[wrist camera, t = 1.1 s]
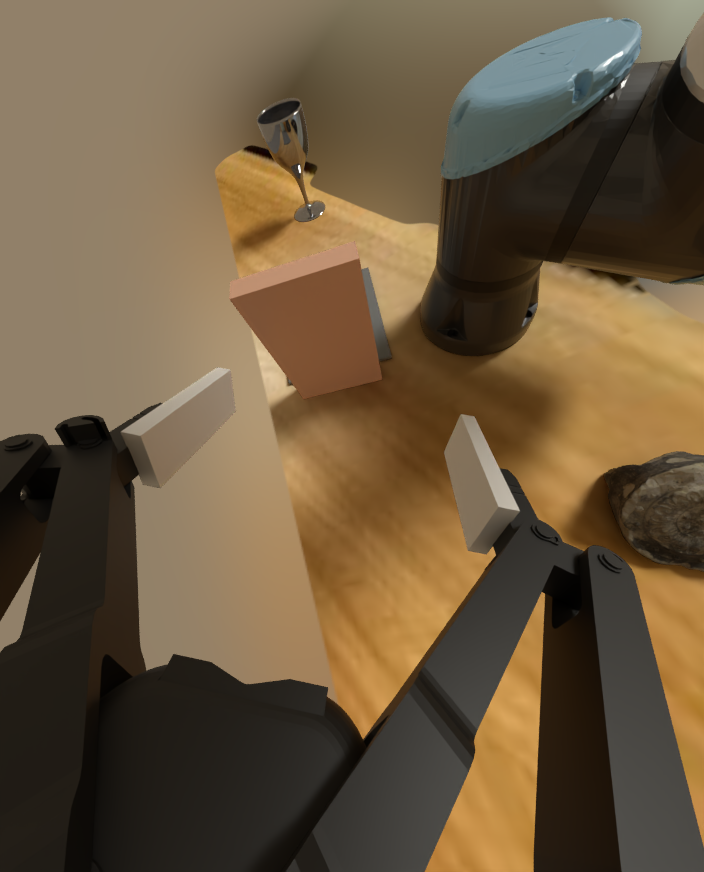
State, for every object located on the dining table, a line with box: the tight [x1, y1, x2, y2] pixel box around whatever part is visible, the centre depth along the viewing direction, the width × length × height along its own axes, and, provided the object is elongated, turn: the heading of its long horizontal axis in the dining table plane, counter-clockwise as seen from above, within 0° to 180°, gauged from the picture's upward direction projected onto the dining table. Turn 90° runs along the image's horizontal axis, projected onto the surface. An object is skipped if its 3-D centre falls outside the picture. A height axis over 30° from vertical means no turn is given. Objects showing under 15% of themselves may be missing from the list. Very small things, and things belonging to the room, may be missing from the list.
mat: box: [289, 268, 392, 385], centre depth 45 cm, size 16×20×1 cm
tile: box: [229, 241, 382, 399], centre depth 32 cm, size 12×3×18 cm, turn 98°
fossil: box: [604, 451, 704, 572], centre depth 24 cm, size 11×9×10 cm
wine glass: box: [257, 98, 325, 222], centre depth 52 cm, size 8×8×15 cm
